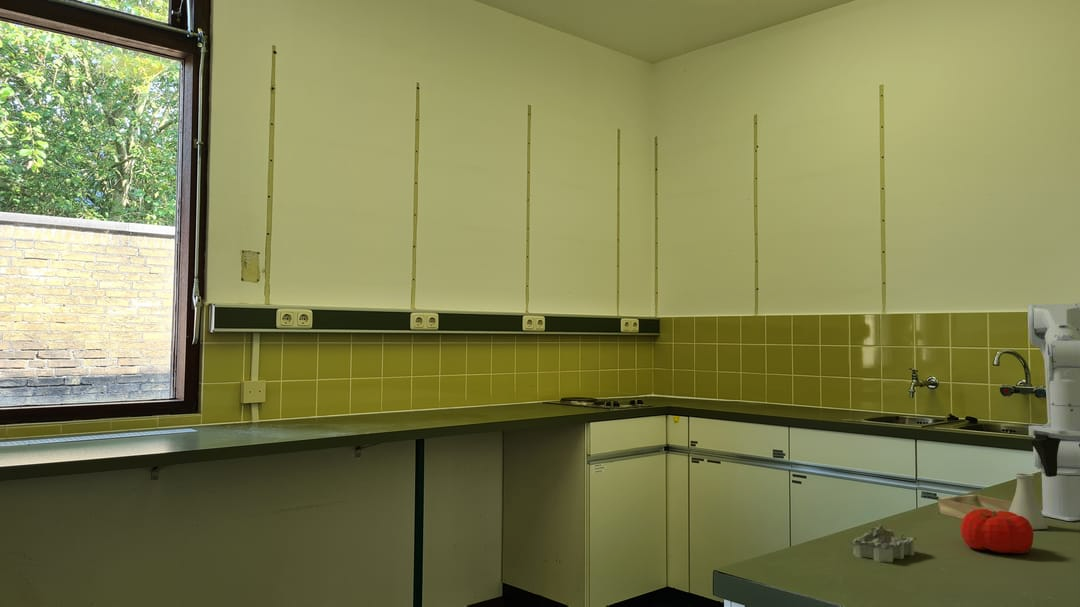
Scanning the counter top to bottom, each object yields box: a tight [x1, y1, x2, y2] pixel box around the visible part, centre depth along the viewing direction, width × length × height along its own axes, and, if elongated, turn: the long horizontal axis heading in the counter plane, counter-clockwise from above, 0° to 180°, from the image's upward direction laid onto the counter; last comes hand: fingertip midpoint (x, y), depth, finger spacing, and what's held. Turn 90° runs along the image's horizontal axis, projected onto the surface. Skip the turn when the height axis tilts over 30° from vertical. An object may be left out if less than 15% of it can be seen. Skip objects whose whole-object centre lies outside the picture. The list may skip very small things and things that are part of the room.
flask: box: [1009, 472, 1049, 530], centre depth 156 cm, size 7×7×10 cm
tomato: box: [960, 509, 1035, 555], centre depth 138 cm, size 10×11×6 cm
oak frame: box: [937, 494, 1012, 519], centre depth 164 cm, size 11×11×3 cm
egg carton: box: [849, 524, 918, 563], centre depth 136 cm, size 11×8×4 cm
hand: (1070, 479), depth 147 cm, fingers open, 7 cm apart
